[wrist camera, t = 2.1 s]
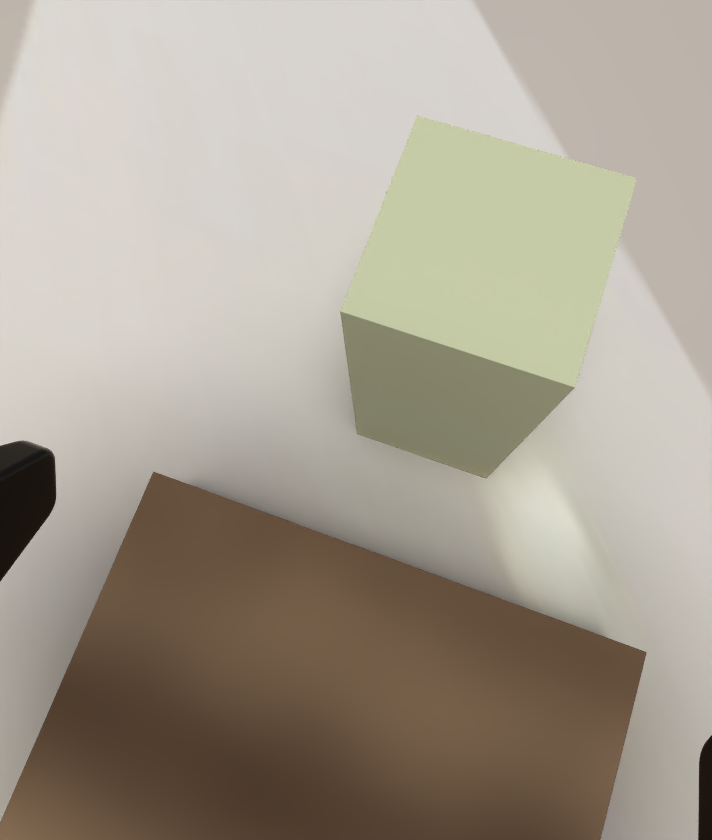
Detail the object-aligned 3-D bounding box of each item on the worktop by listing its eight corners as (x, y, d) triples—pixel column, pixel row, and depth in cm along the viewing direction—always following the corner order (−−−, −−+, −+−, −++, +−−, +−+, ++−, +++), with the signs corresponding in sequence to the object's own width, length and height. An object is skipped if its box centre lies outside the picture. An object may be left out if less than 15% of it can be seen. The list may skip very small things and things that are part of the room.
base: (465, 1185, 17) (483, 1309, 14) (-16, 957, 19) (-90, 1026, 16) (607, 642, 20) (646, 652, 17) (184, 487, 22) (153, 471, 19)
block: (486, 478, 21) (575, 387, 12) (357, 433, 22) (340, 311, 12) (525, 355, 22) (636, 178, 13) (401, 315, 23) (417, 115, 13)
